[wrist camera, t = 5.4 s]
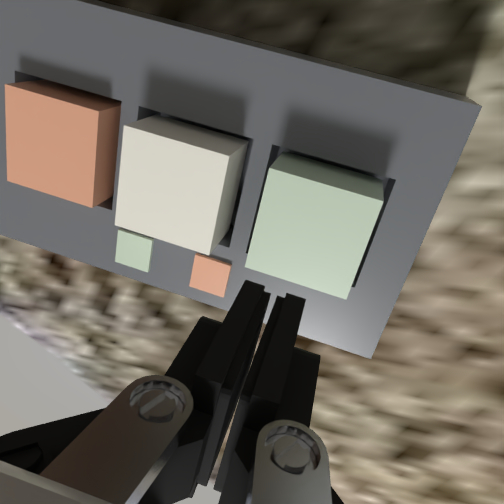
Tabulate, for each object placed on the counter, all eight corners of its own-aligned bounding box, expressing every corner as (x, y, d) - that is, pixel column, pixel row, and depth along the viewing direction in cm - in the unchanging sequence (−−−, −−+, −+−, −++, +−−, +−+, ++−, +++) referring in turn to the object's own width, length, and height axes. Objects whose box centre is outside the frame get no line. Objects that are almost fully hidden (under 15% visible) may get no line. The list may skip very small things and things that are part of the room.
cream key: (248, 141, 20) (229, 156, 18) (228, 229, 22) (208, 255, 20) (155, 114, 21) (123, 125, 18) (145, 203, 23) (114, 225, 20)
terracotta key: (132, 102, 22) (98, 111, 19) (124, 189, 24) (92, 207, 21) (49, 78, 22) (4, 84, 20) (47, 165, 24) (7, 180, 22)
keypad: (465, 96, 20) (483, 107, 16) (371, 319, 25) (370, 361, 22) (28, -18, 22) (-32, -28, 19) (29, 208, 28) (-18, 231, 24)
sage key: (382, 179, 19) (383, 201, 17) (349, 267, 21) (346, 299, 19) (283, 150, 20) (269, 167, 17) (260, 239, 22) (244, 266, 19)
